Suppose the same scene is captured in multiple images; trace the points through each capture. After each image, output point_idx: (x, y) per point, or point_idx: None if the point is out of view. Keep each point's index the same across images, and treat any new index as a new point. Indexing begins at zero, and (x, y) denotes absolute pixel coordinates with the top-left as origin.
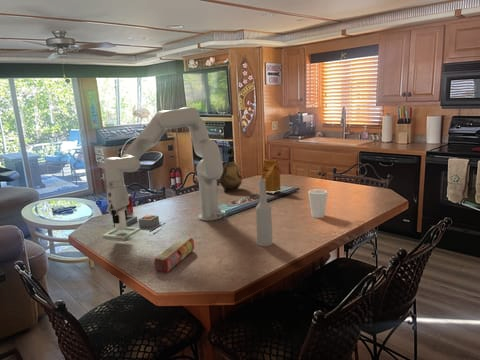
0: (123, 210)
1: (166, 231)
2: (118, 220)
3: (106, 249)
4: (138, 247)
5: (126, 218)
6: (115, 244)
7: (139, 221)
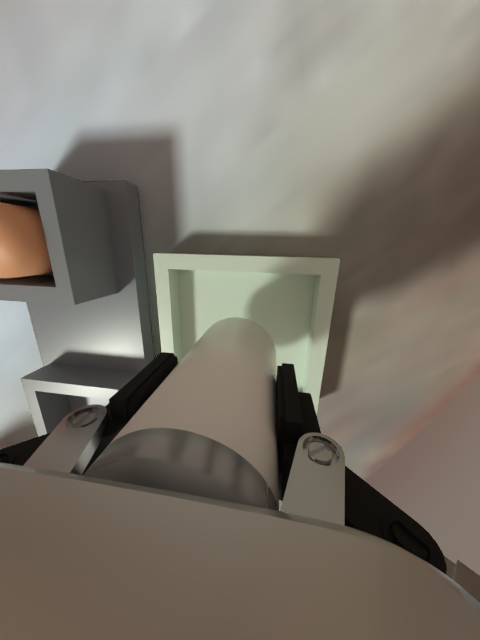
0: (173, 421)
1: (88, 54)
2: (293, 378)
3: (473, 294)
4: (440, 53)
5: (168, 356)
6: (381, 289)
7: (88, 294)
